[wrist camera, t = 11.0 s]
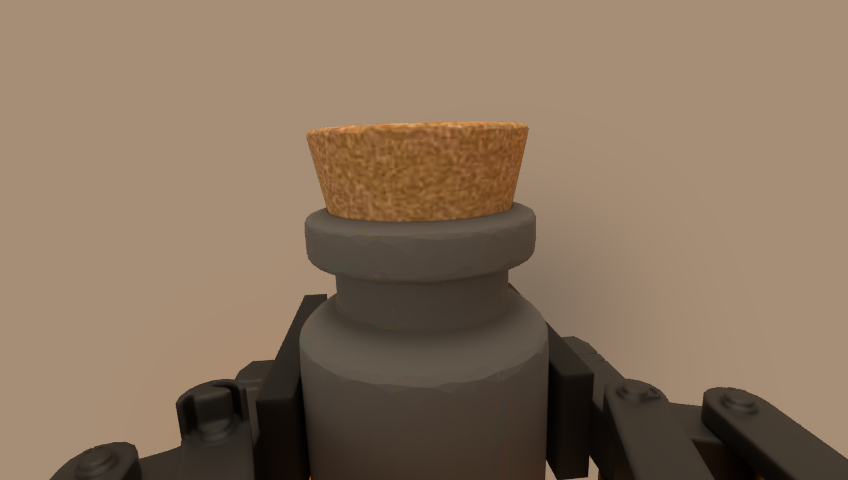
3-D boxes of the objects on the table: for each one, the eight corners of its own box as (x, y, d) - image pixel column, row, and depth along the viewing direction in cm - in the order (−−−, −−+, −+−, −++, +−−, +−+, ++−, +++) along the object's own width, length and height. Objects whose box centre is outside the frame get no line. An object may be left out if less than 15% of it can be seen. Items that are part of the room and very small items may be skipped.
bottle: (575, 776, 10) (618, 115, 7) (322, 830, 10) (240, 124, 6) (501, 553, 16) (506, 127, 13) (337, 577, 15) (298, 133, 12)
